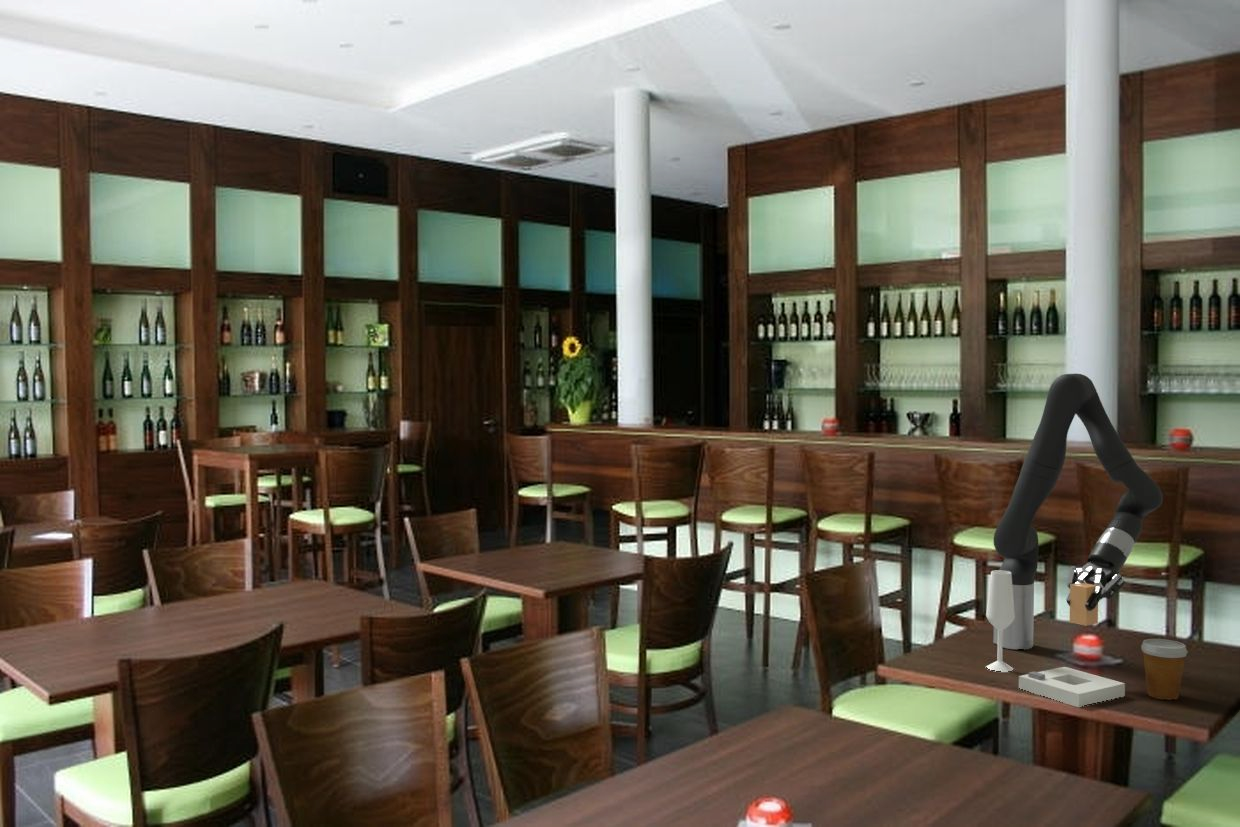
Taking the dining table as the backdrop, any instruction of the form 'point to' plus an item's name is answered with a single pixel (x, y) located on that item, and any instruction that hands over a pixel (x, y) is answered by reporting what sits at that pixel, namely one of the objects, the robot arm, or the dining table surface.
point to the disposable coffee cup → (1163, 667)
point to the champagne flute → (1000, 611)
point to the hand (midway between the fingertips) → (1078, 606)
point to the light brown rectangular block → (1082, 604)
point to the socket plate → (1071, 686)
